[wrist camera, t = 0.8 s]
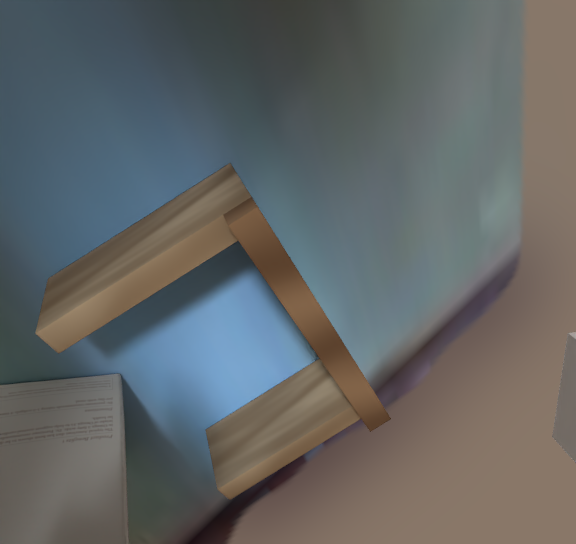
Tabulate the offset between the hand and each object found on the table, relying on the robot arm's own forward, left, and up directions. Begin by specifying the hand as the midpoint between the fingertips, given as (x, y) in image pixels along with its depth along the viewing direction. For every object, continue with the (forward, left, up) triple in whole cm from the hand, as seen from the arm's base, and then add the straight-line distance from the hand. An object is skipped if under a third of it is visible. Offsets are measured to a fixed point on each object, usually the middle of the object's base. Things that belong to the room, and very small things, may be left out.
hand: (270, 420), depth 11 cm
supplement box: (+10, -15, -18) cm, 26 cm away
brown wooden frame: (+10, -4, -18) cm, 21 cm away
